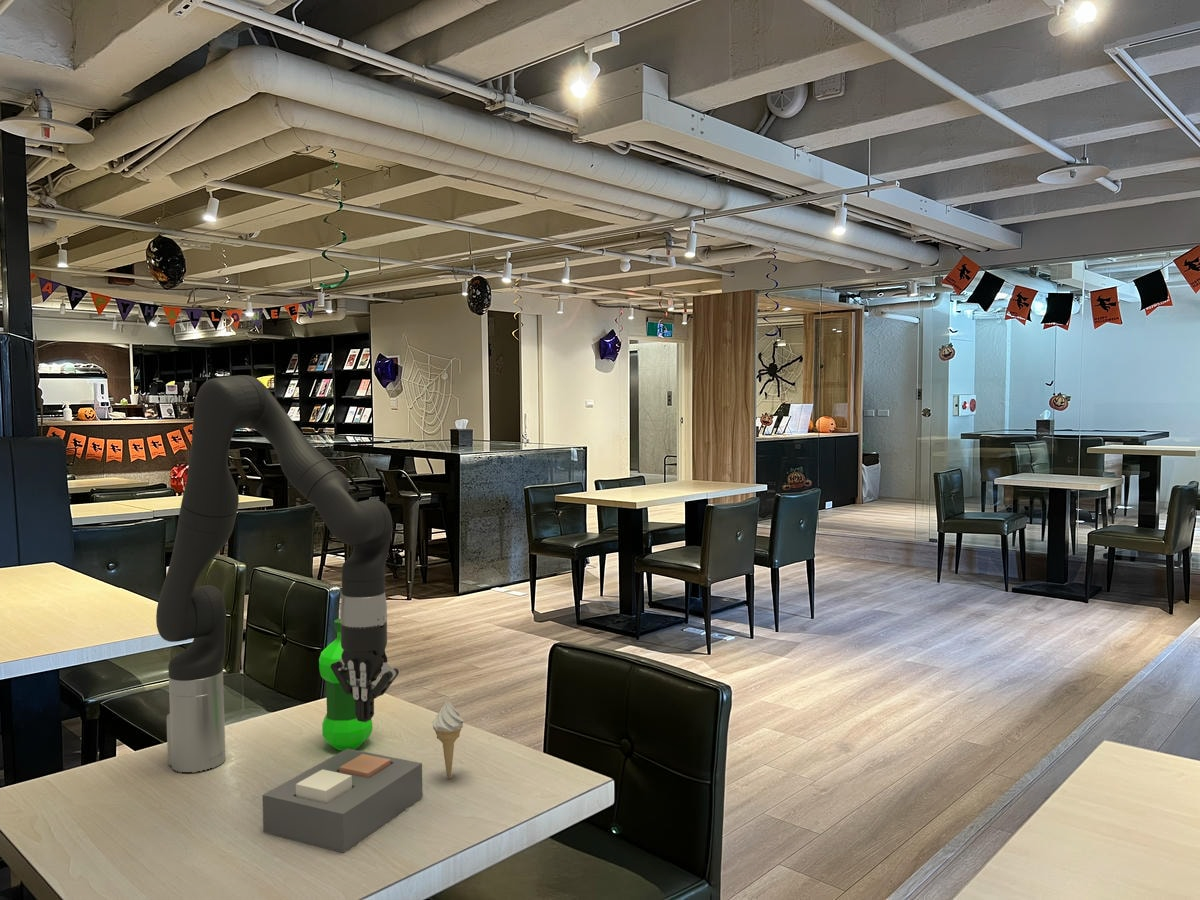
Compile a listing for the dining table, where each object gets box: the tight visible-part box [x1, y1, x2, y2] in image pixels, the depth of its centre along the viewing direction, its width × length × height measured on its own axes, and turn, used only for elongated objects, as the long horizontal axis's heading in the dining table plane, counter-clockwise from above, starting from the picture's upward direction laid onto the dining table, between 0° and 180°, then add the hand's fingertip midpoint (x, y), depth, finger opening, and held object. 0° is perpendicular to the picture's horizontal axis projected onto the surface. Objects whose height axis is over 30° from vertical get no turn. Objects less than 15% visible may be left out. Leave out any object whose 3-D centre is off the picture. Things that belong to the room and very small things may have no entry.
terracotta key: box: [339, 754, 391, 778], centre depth 148 cm, size 6×6×3 cm
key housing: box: [261, 748, 423, 854], centre depth 144 cm, size 16×20×6 cm
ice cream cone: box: [431, 696, 465, 780], centre depth 157 cm, size 6×6×15 cm
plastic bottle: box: [318, 618, 373, 752], centre depth 172 cm, size 10×10×25 cm
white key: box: [296, 769, 352, 804], centre depth 139 cm, size 6×6×3 cm
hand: (364, 720), depth 148 cm, fingers closed
